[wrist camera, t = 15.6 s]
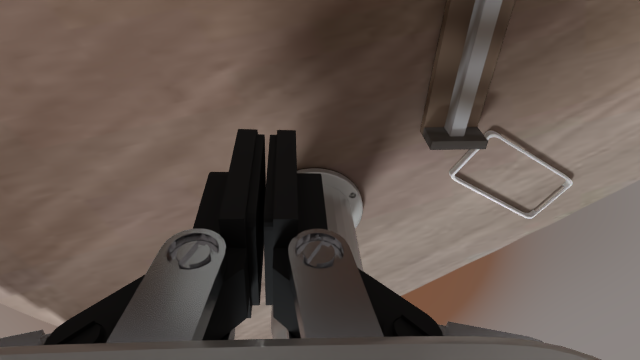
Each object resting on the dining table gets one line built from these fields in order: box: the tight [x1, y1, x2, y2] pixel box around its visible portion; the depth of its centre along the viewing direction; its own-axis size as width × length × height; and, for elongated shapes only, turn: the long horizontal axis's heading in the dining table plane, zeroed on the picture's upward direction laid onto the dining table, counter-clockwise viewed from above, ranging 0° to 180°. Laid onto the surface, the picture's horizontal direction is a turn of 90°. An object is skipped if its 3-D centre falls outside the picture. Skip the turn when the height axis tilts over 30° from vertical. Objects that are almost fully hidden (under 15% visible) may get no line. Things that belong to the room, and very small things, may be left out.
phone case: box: [449, 130, 573, 219], centre depth 49 cm, size 7×1×15 cm
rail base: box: [420, 0, 515, 150], centre depth 36 cm, size 23×6×4 cm, turn 178°
